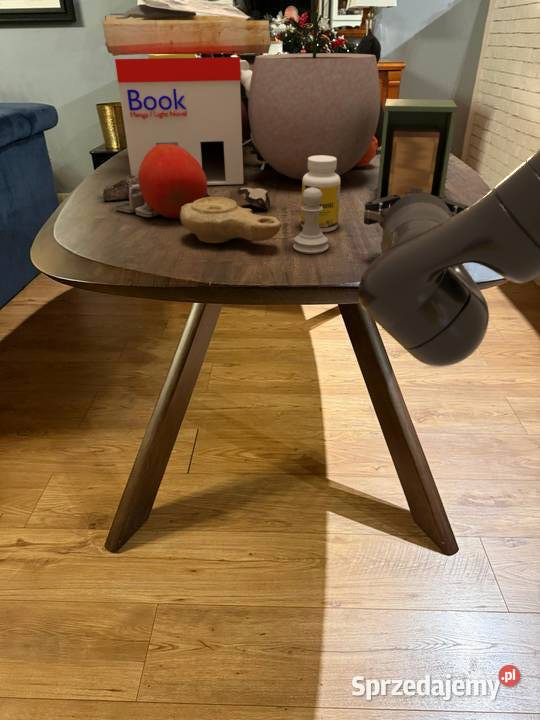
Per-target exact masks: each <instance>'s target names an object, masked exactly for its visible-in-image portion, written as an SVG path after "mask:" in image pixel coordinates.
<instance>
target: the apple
mask: <svg viewBox="0 0 540 720" xmlns="http://www.w3.org/2000/svg"><path fill="white" fill-rule="evenodd" d="M138 178H139V185H140V189H141V192H142V195H143V198H144V201H145V205H148V206H149V207H151V208H152V209H154V210H155V211H157V212H158V213H160V214H159V215H161V216H163V217H164V218H169V219H174V220H179V219H180V212H181V208H182V206H184V205H186V204H190V203H193V202H194V201H196V200H198V199H201V198H205V197H206V194H207V189H208V185H207V178H206V175H205V173H204V171H203V169H202V168H201V166H200V164H199V162H198V161H197V160H196V159H195V158H194V157H193V156H192V155H191V154H190V153H189V152H188V151H187V150H185V149H183V148H182V147H179V146H176V145H173V144H159V145H156V146H154V147H153V148H152V149H150V150H149V151H148V153H147V154H146V155H145V157H144V158H143V160H142V162H141V165H140V168H139V171H138Z"/></svg>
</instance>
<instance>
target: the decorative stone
mask: <svg viewBox="0 0 540 720" xmlns="http://www.w3.org/2000/svg"><path fill="white" fill-rule="evenodd" d="M268 193H269V191H268V190H266V189H264V188H250V187H239V188H237V190H236V194H237V195H238V196H240V197H241V198H242V200H244V201H246V202H247V203H248V204H250V205H252V206H255V207H256V208H260V209H261V208H262V209H265V210H269V209H268V207H271V200H270V197H269V194H268Z"/></svg>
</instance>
